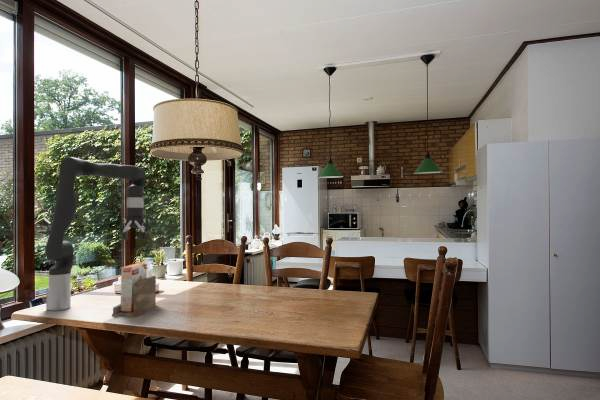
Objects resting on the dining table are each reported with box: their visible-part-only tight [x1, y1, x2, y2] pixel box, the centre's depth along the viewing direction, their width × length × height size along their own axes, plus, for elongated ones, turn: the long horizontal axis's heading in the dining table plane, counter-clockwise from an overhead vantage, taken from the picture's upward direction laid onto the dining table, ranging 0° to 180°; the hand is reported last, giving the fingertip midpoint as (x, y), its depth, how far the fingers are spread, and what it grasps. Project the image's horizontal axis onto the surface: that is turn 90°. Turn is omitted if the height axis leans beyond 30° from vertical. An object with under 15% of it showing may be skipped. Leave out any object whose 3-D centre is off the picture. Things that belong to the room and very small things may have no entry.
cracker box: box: [120, 262, 148, 312], centre depth 181 cm, size 14×6×21 cm, turn 175°
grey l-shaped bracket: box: [111, 275, 157, 317], centre depth 180 cm, size 12×20×15 cm, turn 179°
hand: (134, 239), depth 182 cm, fingers open, 8 cm apart
